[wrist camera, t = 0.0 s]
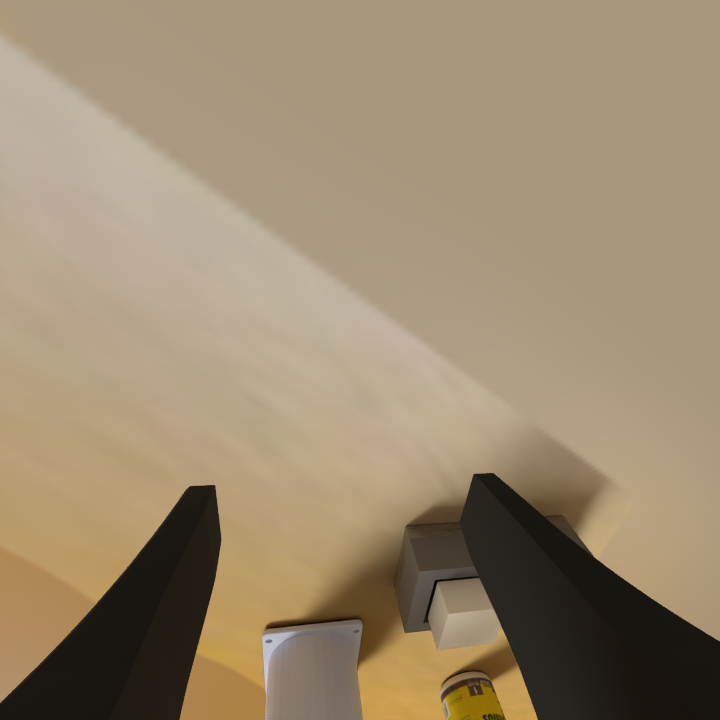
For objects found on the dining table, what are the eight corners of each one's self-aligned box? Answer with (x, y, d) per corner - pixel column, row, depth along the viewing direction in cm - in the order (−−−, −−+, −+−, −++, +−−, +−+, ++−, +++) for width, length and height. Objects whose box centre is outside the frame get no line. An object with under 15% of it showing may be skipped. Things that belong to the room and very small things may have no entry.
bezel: (543, 584, 30) (561, 615, 28) (397, 598, 28) (404, 633, 26) (570, 526, 27) (593, 556, 25) (409, 538, 25) (419, 571, 23)
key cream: (480, 612, 27) (493, 643, 25) (427, 617, 26) (437, 650, 24) (493, 576, 25) (508, 607, 23) (437, 581, 24) (448, 613, 22)
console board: (536, 572, 31) (543, 584, 30) (394, 586, 29) (397, 598, 28) (562, 515, 28) (570, 526, 27) (405, 526, 26) (409, 538, 25)
